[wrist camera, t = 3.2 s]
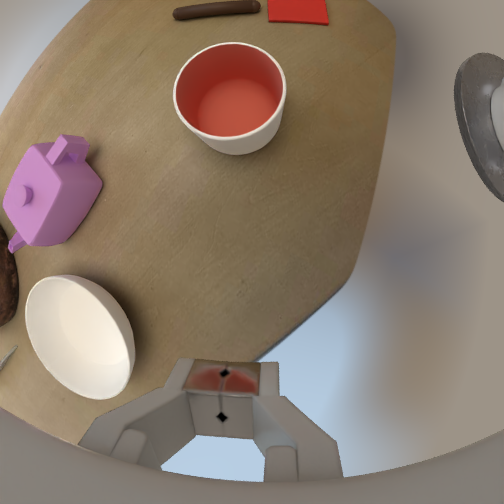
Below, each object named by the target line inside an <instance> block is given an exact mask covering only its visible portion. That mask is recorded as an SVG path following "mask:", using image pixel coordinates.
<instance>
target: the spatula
mask: <svg viewBox="0 0 504 504" xmlns="http://www.w3.org/2000/svg"><path fill="white" fill-rule="evenodd" d="M260 7H261V5H260V3H259V2H258V1H256V0H241V1H226V2H215V3H207V4H199V5H192V6H185V7H180V8H176V9H175V10H174V11H173V17H174V18H175V19H177V20H181V19H187V18H194V17H201V16H209V15H219V14H231V13H250V12H257V11H258V10H259V9H260ZM268 17H269V22H290V23H308V24H320V25H328V24H329V21H328V15H327V9H326V4H325V0H268Z"/></svg>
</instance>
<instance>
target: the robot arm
mask: <svg viewBox="0 0 504 504" xmlns="http://www.w3.org/2000/svg"><path fill="white" fill-rule="evenodd" d="M491 115H492V121H493V125H494V129H495V132H496V135H497V138H498V140H499V142H500V145H501V147H502V149H503V150H504V77H503V79H502V83H501V85H500V86H499V87H498V88H496V89H495V90H494V92H493V94H492V98H491ZM196 435H203V436H215V437H228V438H240V439H253V441H254V442H255V444H256V445H257V447H258V448H259V450H260V451H261V452H262V454H263V456H264V457H265V468H264V482H249V481H233V480H221V479H212V478H203V477H196V476H190V475H183V474H178V473H173V472H167V471H162V469H161V465H162V464H163V463H164V462H166V461H167V460H168V459H170V458H171V457H172V456H173V455H174V454H176V453H177V452H178V451H179V450H180V449H182V448H183V447H184V446H185V445H186V444H187V443H189V442H190V441H191V440H192V439H193V438H194V437H195V436H196ZM0 504H504V429H503V430H501V431H499V432H497V433H495V434H493V435H491V436H489V437H486V438H484V439H482V440H480V441H477V442H475V443H473V444H471V445H468V446H465V447H463V448H460V449H458V450H455V451H452V452H450V453H447V454H444V455H441V456H438V457H435V458H432V459H428V460H425V461H422V462H418V463H415V464H411V465H407V466H403V467H399V468H395V469H390V470H386V471H381V472H376V473H370V474H365V475H359V476H353V477H345V478H344V477H343V472H342V467H341V461H340V456H339V452H338V446H337V442H336V441H335V440H334V439H333V438H331V437H330V436H329V435H328V434H326V433H325V432H324V431H323V430H322V429H321V428H320V427H318V426H317V425H316V424H315V423H314V422H313V421H312V420H310V419H309V418H308V417H307V416H306V415H305V414H304V413H303V412H301V411H300V410H299V409H298V408H297V407H296V406H295V405H294V404H293V403H291V402H290V401H289V400H288V399H287V398H286V397H285V396H280V395H279V363H278V362H261V363H260V362H228V361H216V360H204V359H194V358H182V357H181V358H179V359H178V360H177V362H176V364H175V366H174V368H173V370H172V372H171V374H170V376H169V378H168V379H167V381H166V383H165V385H164V387H163V388H159V387H158V388H157V389H155V390H153V391H151V392H149V393H147V394H145V395H143V396H141V397H139V398H137V399H135V400H133V401H131V402H129V403H127V404H125V405H123V406H120V407H118V408H116V409H114V410H112V411H110V412H108V413H106V414H103V415H101V416H99V417H97V418H96V419H95V420H94V421H93V423H92V424H91V426H90V427H89V429H88V430H87V432H86V433H85V435H84V436H83V438H82V439H81V440H80V442H79V443H78V445H76V444H73V443H71V442H68V441H66V440H64V439H61V438H59V437H57V436H55V435H52V434H50V433H48V432H46V431H44V430H42V429H40V428H38V427H36V426H34V425H32V424H30V423H28V422H26V421H24V420H22V419H21V418H19V417H17V416H15V415H13V414H12V413H10V412H8V411H7V410H5V409H3V408H2V407H0Z"/></svg>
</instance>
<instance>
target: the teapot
mask: <svg viewBox="0 0 504 504" xmlns="http://www.w3.org/2000/svg"><path fill="white" fill-rule="evenodd" d="M89 146H90V145H89V143H88V142H87V141H86V140H85V139H84V138H83V137H79V136H71V135H63V134H61V135H60V136H59V138H58V139H57V140H56V142H49V143H39V144H34V145H32V146H31V147H30V148H29V149H28V150H27V152H26V153H25V155H24V157H23V158H22V160H21V162H20V163H19V165H18V167H17V169H16V171H15V173H14V175H13V177H12V179H11V181H10V184H9V186H8V189H7V191H6V194H5V197H4V200H3V208H4V210H5V212H6V214H7V215H8V217H9V219H10V220H11V222H12V224H13V225H14V227H15V228H16V229H17V232H16V233H15V235H14V236H13V238H12V239H11V240H10V241H9V245H8V249H9V250H10V252H11V253H14V252H15V251H17V250H18V249H20V248H21V247H23V246H25V245H26V244H28V245H29V246H52V245H57V244H61V243H63V242H64V241H66V240H67V239H68V238H69V237H70V236H71V235H72V234H73V233H74V231H75V230H76V229H77V227H78V226H79V225H80V223H81V222H82V221H83V219H84V218H85V216H86V215H87V213H88V211H89V210H90V208H91V206H92V205H93V203H94V201H95V199H96V197H97V196H98V194H99V192H100V190H101V188H102V181H101V179H100V178H99V176H98V175H97V174H96V173H95V172H94V170H93V169H92V168H91V167H90V166H89V165H88V164H87V162H86V161H85V158H86V155H87V152H88V149H89Z"/></svg>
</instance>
